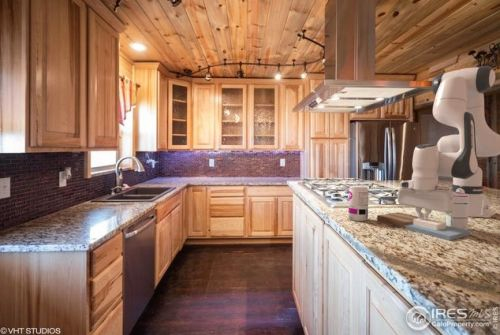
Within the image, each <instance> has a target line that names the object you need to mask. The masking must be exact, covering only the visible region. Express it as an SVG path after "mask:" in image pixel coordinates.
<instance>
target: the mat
mask: <svg viewBox="0 0 500 335" xmlns="http://www.w3.org/2000/svg"><path fill="white" fill-rule="evenodd" d="M404 229H406V230H409V231H413V232H417V233H420V234H424V235H428V236H432V237H434V238H438V239H441V240H442V239H443V240H446V241H449V240H450V241H453V239H454V240H457V239H460V238H466V237H468V236H471V235H472V230H465V229H460V228H456V227H451V226H447V225H446V228H445V229H440V230H434V229H430V228H426V227H422V226H418V225H414V224H408V225H405V228H404Z"/></svg>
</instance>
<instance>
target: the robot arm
mask: <svg viewBox="0 0 500 335" xmlns="http://www.w3.org/2000/svg"><path fill="white" fill-rule="evenodd" d="M495 81H496V73H495V71H494V68H493V67H492V66H489V65H481V66H479V67H466V68H465V67H464V68H461V69H456V70H451V71H449V72H442V73H438V74H436V76H435V77H434V78H433V79H432V81H431V91H432V94H433V95H435V97H434V101H433V105H432V115H433V118H434V119H435V120H436V121H437V122H439V123H441V124H443V125H446V126H448V127H449V126H450V127H453V128H456V129H457V130H458V132H459V133H458V134H449V135H445V136H441V137H440V139H439V140H438V141H437V144H436V143H423V144H418V145H416V146H415V148H414V150H413V155H412V163H411V164H412V167H411V168H412V171H413V172H412V174H411V179H409V180H405V181H400V182H399V188H398V192H397V202H398V204H399V205H404V206H408V207H409V206H410V207H414V208H415V212H416V214H417V217H418V218H419V219H423V220H428V219H429V216H430V214H431V213H432V211H437V212H440V213H444V214H445V213H449V212H452V211H453V210H454V203H453V195H454V193H453V192H462V193H465V194H469V205H468V217H470V218H471V217H472V218H473V217H474V218H485V219H489V218H491V217H493V216H495V215H496V214H497V211H494V210H491V202H490V200H489V198H487V197H486V195H485V194H484V192H485V191H486V189H487V187H486V185H484V186H483V170H482V168H481V167H480V166H479V162H478V158H489V157H495V156H496V157H497V156H499V155H500V134H498V133H497V132H495V131H493V130H492V129H491V127H490V126H488V124H487V121H486V117H485V97H484V96H485V95H484V94H485V92H487V91H490V90H491V89H492V87H493V86H494V83H495ZM439 177H445V178H446V177H447V178H452V184H451V187H447V186H440V185H439ZM423 209H424V212H425V213H423V211H422V210H423Z"/></svg>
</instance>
